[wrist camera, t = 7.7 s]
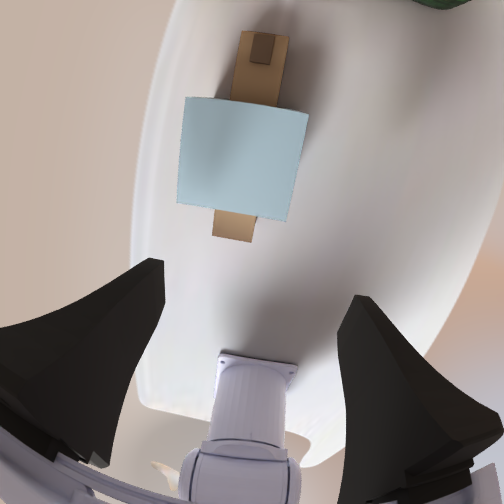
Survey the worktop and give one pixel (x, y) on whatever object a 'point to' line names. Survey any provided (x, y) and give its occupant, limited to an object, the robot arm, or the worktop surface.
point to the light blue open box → (239, 156)
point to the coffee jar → (442, 3)
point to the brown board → (257, 92)
